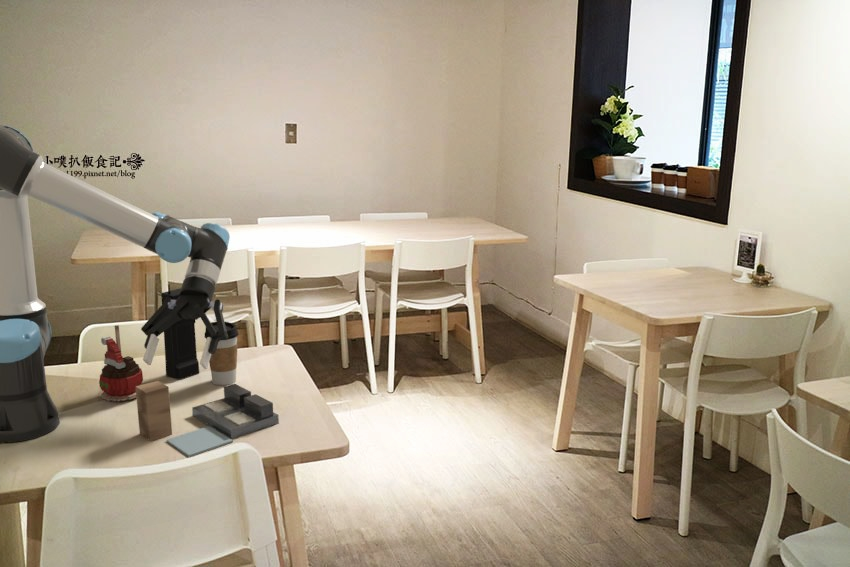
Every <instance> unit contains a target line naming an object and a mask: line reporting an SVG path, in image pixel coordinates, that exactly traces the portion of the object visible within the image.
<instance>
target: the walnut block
mask: <svg viewBox="0 0 850 567" xmlns="http://www.w3.org/2000/svg"><path fill="white" fill-rule="evenodd" d="M135 387H136V407H137V408H136V409H137V417H138V428H139V429H138V430H139V435H141V436H142V437H143V438H145V439H146V440H148V441H149V442H152V441H156V440H159V439H161V438H165V437H168V436H171V435H173V429H172V417H171V416H172V415H171V403H170V401H171V400H170V392H169V391H170V390H169V386H168V385H166V384H164V383H162V382H161V381H160V380H155V381H151V382H148V383H143V384H141V385H139V386H135Z"/></svg>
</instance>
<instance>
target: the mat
mask: <svg viewBox="0 0 850 567" xmlns="http://www.w3.org/2000/svg"><path fill="white" fill-rule="evenodd" d="M166 442H167V443H168V444H170V445H172V446H173V447H175V448H176V449H177V450H179V451H180V452H182V453H183V454H184V455H186V456H187V457H189V458H190V457H194V456H197V455H199V454H202V453H205V452H207V451H211V450H214V449H217V448H220V447H223V446H225V445H229V444H232V443H233V442H234V439H230V438H229V437H227V436H225V435H224V434H222V433H220V432H219V431H217V430H215V429H214V428H212V427H211V426H209V425H207V426H205V427H202V428H199V429H195V430H193V431H188V432H186V433H182V434H180V435H177V436H173V437H170V438H167V439H166Z"/></svg>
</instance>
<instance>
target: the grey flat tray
mask: <svg viewBox="0 0 850 567" xmlns="http://www.w3.org/2000/svg"><path fill="white" fill-rule="evenodd" d="M223 396H224V397H223V398H220V399H216V400H214V401H209V402H207V403H203V404H200V405H195V406H193V407H191V409H192V410H191V412H192V417H194V418H196V419H197V420H198V421H201V422H202V423H204V424H205V425H207V426H210V427H212V428H213V429H215V430H217V431H218V432H220V433H222V434H223V435H225V436H227V437H228V438H230V439H231V440H234V439H236V438H239V437H242V436H244V435H248V434H250V433H253V432H256V431H260V430H263V429H265V428H269V427H271V426H274V425H278V424H279V422H280V419H279V414H277V413H276V412H274V403H273V402H272V401H270V400H268V399H266V398H264V397H262V396H260V395H258V394H252V391H251V390H248V389H246V388H245V387H242V386H241V385H238V384H237V383H232V384H229V385H224V386H223Z"/></svg>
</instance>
